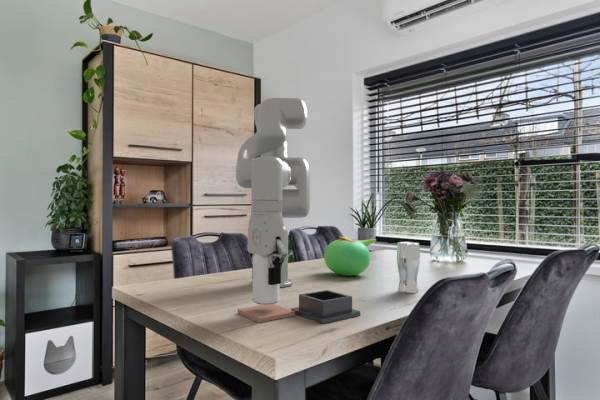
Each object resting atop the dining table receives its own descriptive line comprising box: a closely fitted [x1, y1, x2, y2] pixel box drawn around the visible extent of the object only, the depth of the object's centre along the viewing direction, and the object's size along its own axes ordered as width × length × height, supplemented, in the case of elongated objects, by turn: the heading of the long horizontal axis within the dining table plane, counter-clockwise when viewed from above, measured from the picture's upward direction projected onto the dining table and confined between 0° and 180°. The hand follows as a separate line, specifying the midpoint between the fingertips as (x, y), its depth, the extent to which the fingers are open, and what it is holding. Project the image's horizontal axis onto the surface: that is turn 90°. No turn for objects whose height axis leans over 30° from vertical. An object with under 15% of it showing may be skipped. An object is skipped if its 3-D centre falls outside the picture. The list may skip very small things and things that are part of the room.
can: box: [252, 253, 280, 305], centre depth 100 cm, size 6×6×12 cm
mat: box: [237, 303, 296, 324], centre depth 100 cm, size 10×10×1 cm
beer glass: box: [396, 241, 421, 294], centre depth 128 cm, size 7×7×15 cm
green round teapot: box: [323, 236, 377, 277], centre depth 156 cm, size 18×17×15 cm
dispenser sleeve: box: [290, 289, 361, 324], centre depth 101 cm, size 12×12×4 cm
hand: (266, 281), depth 100 cm, fingers closed on can, 6 cm apart
